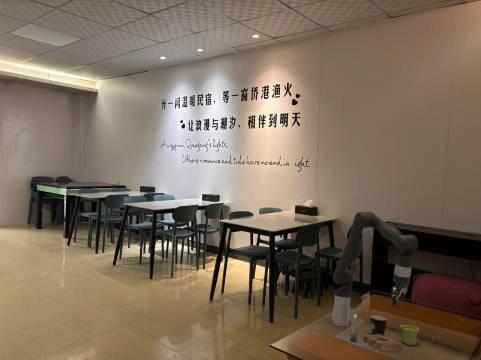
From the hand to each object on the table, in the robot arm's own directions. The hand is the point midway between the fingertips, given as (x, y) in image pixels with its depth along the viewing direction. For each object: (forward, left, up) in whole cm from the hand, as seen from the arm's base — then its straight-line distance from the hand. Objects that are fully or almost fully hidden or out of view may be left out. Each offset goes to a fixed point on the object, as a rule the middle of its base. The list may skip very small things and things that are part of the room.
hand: (397, 303), depth 193 cm
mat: (-17, -11, -24) cm, 32 cm away
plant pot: (-8, +20, -25) cm, 33 cm away
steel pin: (-16, -12, -24) cm, 32 cm away
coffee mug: (-23, +12, -25) cm, 36 cm away
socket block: (-8, 0, -24) cm, 26 cm away
